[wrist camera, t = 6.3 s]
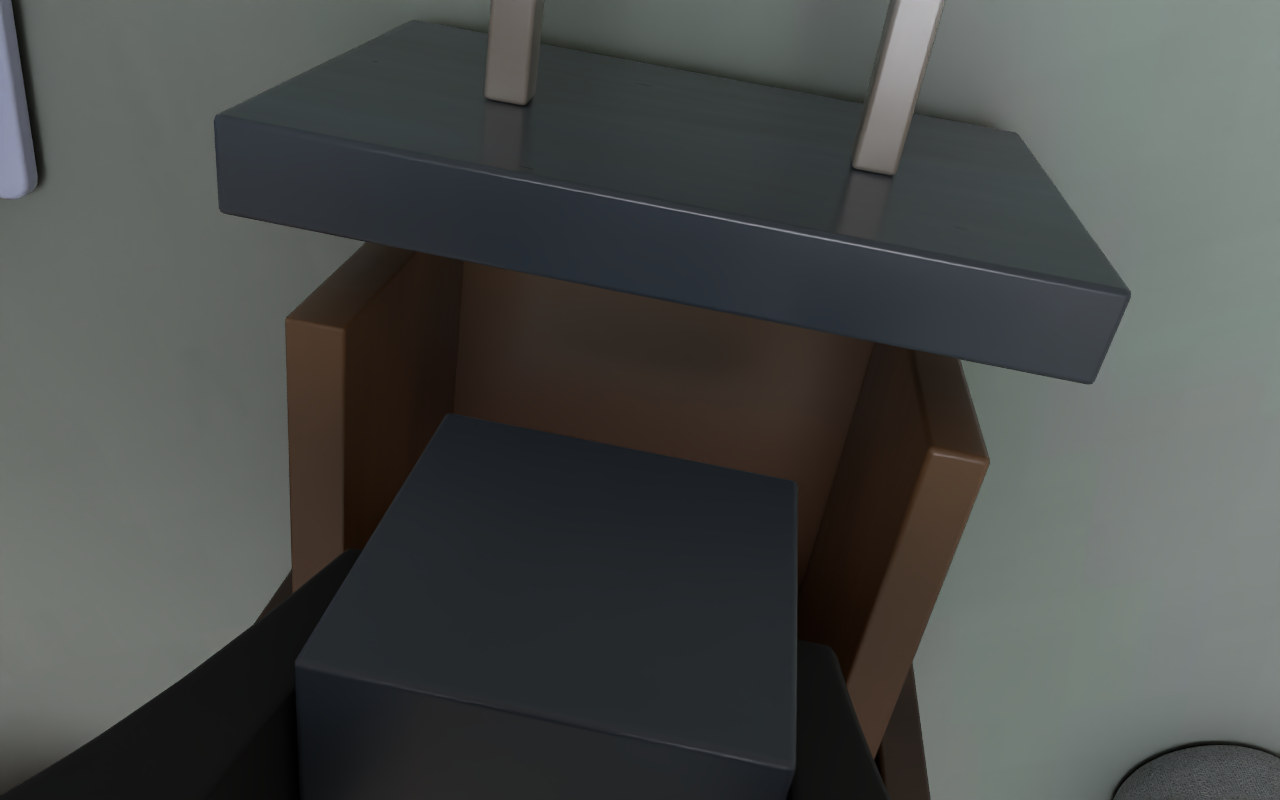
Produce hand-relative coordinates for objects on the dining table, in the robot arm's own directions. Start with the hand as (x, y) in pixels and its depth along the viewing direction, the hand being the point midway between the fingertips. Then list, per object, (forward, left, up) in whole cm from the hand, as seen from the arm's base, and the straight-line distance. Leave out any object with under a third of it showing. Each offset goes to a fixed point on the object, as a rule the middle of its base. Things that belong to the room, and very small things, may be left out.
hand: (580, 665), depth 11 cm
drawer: (0, 0, -10) cm, 10 cm away
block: (0, 0, -1) cm, 1 cm away
